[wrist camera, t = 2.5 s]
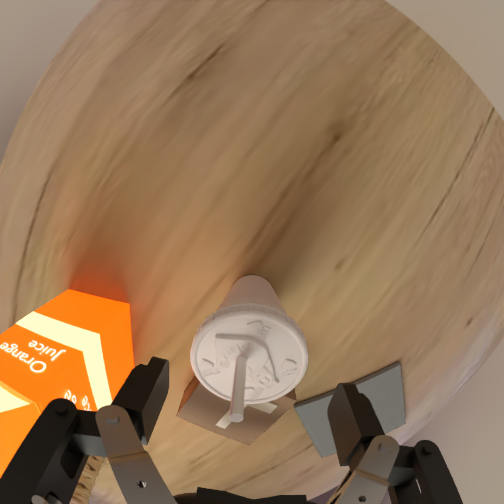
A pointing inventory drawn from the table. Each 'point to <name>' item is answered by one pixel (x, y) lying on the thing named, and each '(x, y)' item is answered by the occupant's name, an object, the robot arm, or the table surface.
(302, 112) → the table surface
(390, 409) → the slate pad
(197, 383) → the lettered block
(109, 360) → the orange juice
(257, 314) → the smoothie
